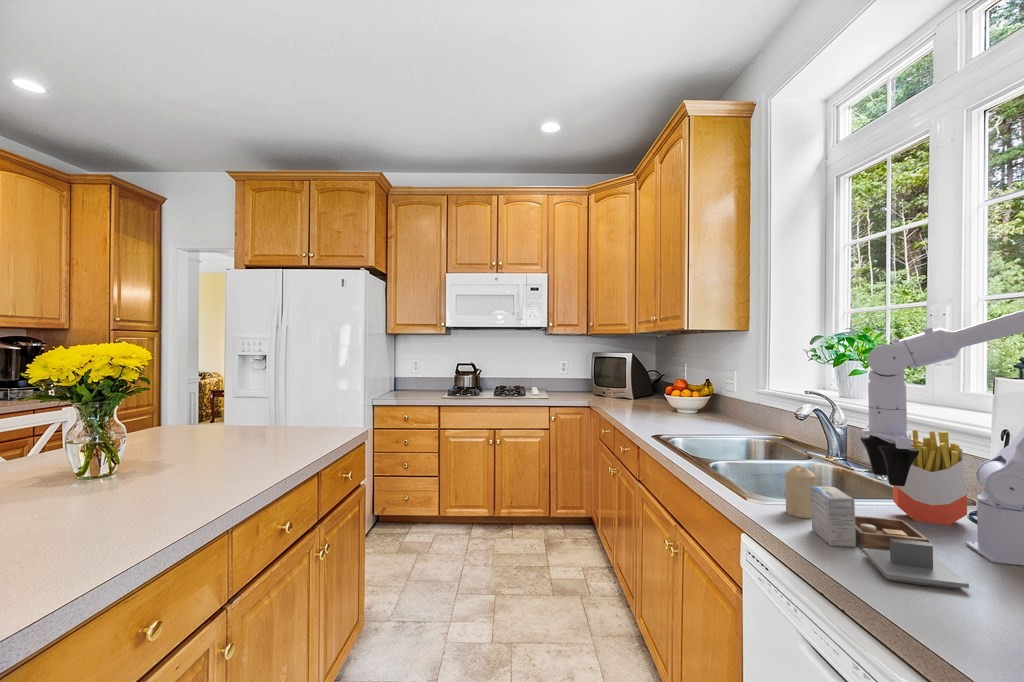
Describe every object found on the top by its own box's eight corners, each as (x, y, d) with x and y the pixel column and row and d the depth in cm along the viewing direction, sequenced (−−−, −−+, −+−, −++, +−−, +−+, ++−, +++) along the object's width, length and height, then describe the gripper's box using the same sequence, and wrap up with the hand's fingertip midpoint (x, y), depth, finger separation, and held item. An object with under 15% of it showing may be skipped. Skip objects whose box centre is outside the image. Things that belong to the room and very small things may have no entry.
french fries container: (968, 528, 95) (966, 435, 95) (898, 519, 100) (897, 431, 100) (959, 520, 99) (958, 432, 100) (893, 512, 104) (892, 428, 104)
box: (903, 533, 93) (903, 519, 93) (929, 554, 83) (929, 539, 83) (842, 527, 96) (842, 514, 96) (860, 547, 87) (860, 533, 87)
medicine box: (856, 548, 86) (855, 499, 86) (828, 546, 87) (828, 497, 87) (836, 531, 94) (835, 486, 94) (810, 530, 95) (810, 485, 95)
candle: (822, 518, 101) (821, 470, 101) (796, 519, 101) (796, 470, 101) (804, 509, 107) (803, 463, 107) (780, 510, 106) (779, 464, 106)
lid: (934, 563, 80) (933, 534, 80) (969, 593, 70) (968, 559, 70) (862, 555, 83) (862, 527, 83) (886, 582, 74) (886, 550, 74)
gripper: (849, 402, 100) (850, 469, 100) (877, 412, 87) (878, 488, 86) (890, 404, 98) (891, 471, 98) (925, 413, 84) (926, 492, 84)
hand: (888, 479), depth 92 cm, fingers open, 7 cm apart
